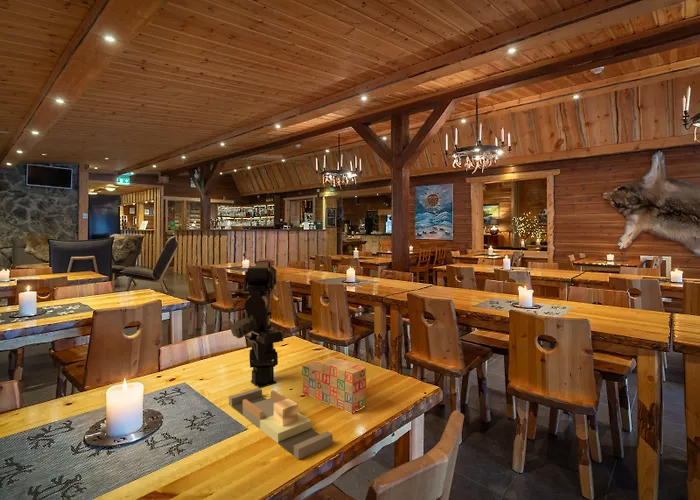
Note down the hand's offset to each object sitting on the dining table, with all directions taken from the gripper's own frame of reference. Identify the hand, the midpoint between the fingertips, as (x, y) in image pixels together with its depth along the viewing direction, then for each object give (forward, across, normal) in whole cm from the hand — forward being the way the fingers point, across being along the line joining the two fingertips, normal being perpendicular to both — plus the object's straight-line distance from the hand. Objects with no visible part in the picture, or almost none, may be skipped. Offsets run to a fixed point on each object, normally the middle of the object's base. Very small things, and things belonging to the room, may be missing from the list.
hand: (259, 359), depth 120 cm
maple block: (+10, +20, -3) cm, 22 cm away
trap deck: (+13, +14, -3) cm, 20 cm away
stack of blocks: (+13, +14, +18) cm, 26 cm away
